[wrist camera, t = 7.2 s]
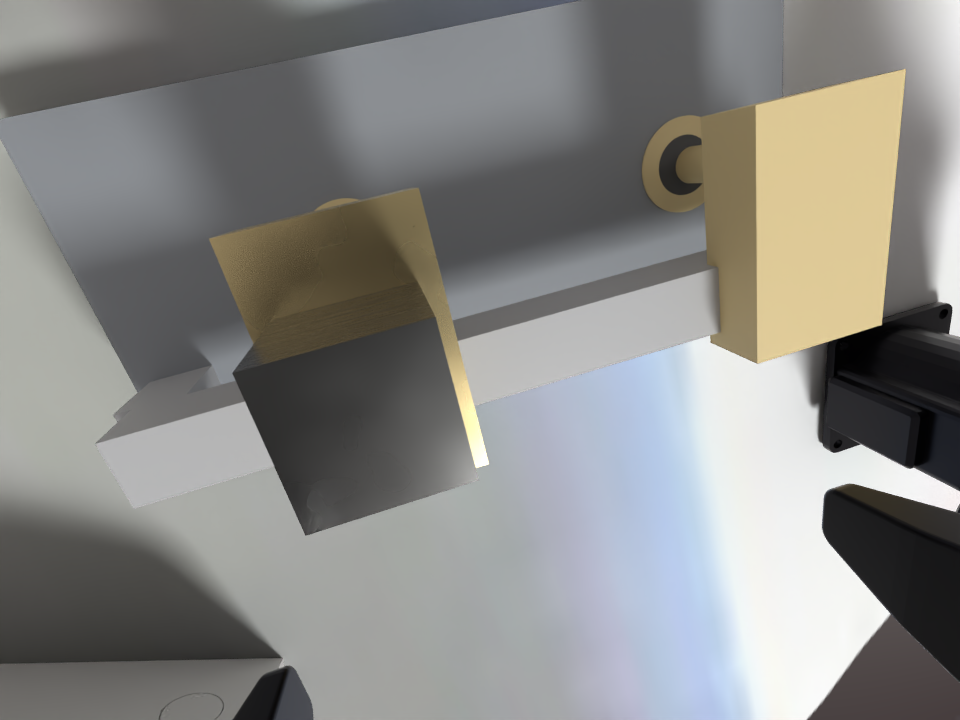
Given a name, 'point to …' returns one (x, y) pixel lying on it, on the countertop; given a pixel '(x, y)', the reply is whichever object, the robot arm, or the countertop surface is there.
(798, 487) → the countertop surface
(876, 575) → the robot arm
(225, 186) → the plate
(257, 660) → the white curved block
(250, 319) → the block
